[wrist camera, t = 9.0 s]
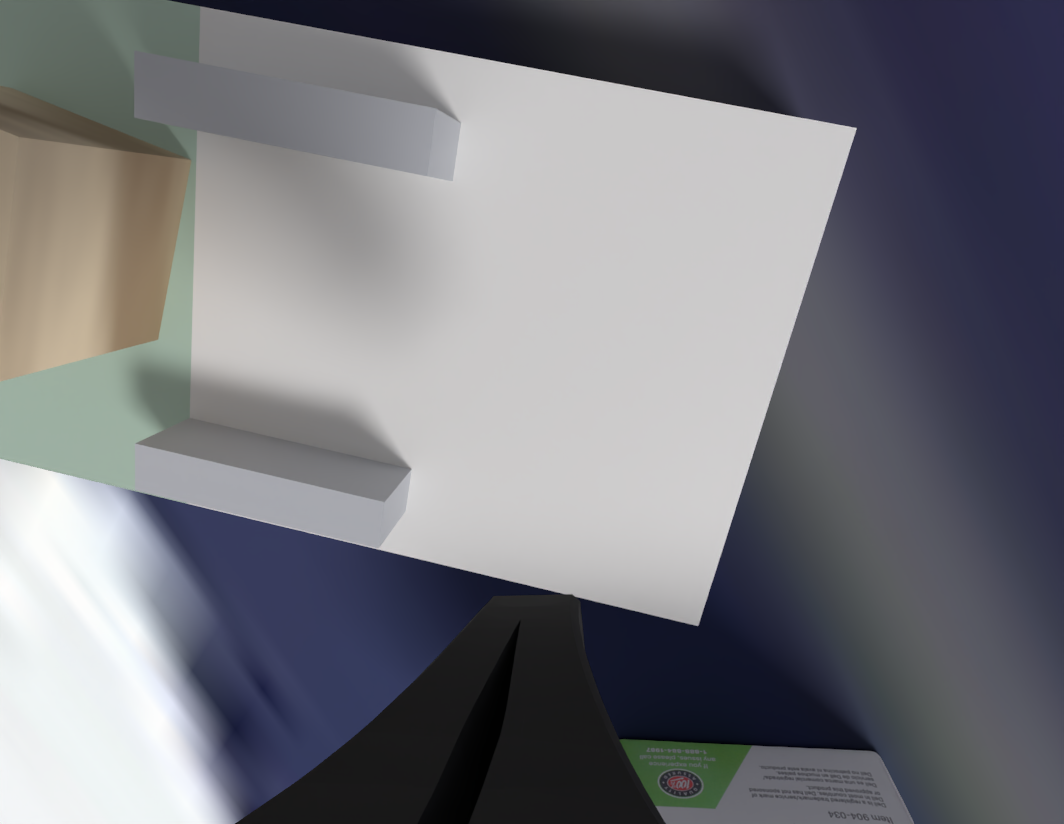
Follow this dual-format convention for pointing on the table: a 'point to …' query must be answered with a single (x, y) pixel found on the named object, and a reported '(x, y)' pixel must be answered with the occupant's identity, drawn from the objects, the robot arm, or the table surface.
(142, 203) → the maple block
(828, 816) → the ink box
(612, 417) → the channel deck
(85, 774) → the table surface
